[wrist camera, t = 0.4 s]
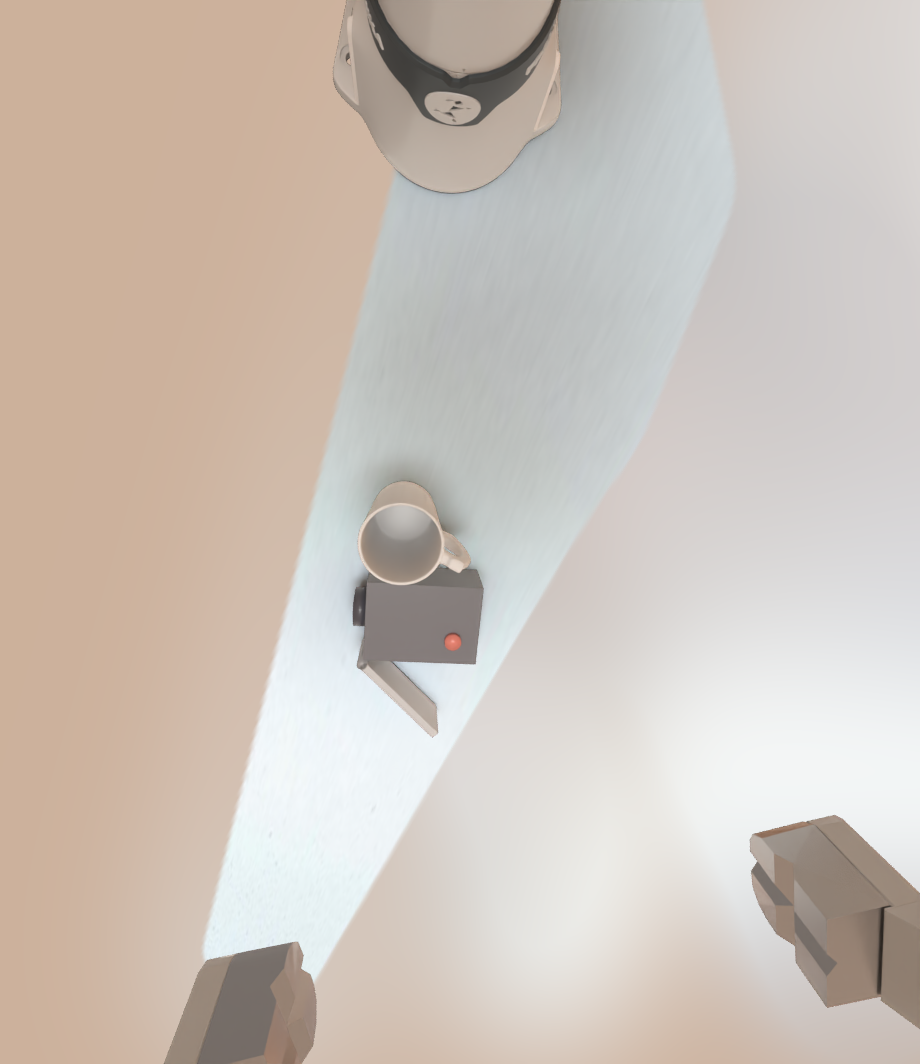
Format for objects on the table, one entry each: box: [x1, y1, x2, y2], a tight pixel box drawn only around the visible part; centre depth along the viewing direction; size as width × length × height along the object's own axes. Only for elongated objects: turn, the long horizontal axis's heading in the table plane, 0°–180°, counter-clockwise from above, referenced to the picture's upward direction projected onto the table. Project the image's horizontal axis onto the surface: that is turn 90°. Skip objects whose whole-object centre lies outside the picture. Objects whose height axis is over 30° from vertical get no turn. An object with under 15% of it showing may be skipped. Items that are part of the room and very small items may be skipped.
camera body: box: [353, 568, 484, 664], centre depth 52 cm, size 8×12×6 cm, turn 85°
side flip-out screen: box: [357, 639, 438, 738], centre depth 54 cm, size 1×12×5 cm, turn 40°
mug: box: [358, 481, 471, 585], centre depth 46 cm, size 10×7×12 cm, turn 62°
